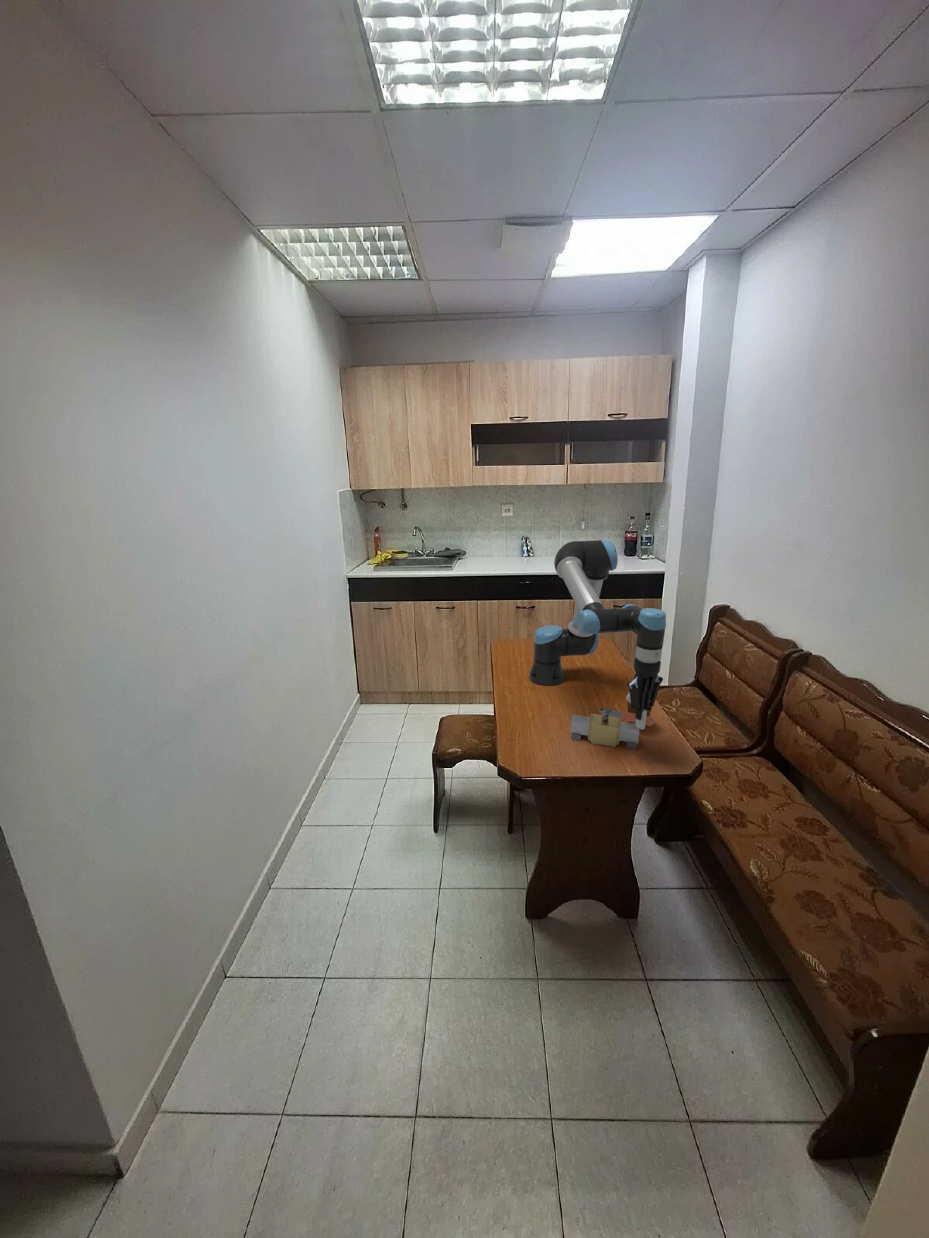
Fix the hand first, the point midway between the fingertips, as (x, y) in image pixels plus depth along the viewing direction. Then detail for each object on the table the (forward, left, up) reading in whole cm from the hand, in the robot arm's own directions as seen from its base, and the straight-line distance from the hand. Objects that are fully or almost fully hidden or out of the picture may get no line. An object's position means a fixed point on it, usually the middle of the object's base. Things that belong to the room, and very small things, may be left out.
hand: (640, 727), depth 155 cm
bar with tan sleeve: (-11, +5, -9) cm, 15 cm away
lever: (-4, +4, +1) cm, 6 cm away
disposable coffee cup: (0, +18, -10) cm, 20 cm away
